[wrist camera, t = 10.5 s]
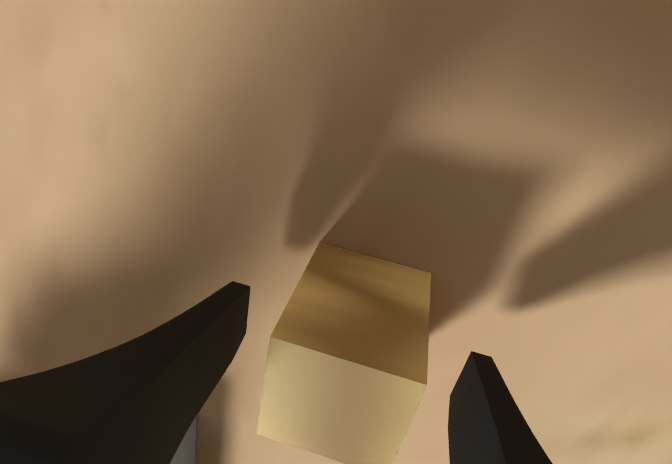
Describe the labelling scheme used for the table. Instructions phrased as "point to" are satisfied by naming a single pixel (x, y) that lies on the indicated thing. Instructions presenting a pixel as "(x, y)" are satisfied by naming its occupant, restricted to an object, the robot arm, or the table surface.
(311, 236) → the table surface
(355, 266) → the block
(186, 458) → the u-shaped frame
